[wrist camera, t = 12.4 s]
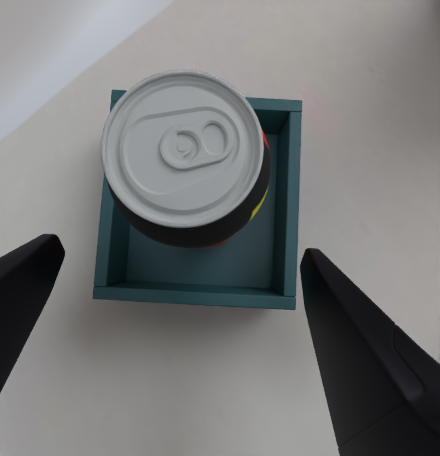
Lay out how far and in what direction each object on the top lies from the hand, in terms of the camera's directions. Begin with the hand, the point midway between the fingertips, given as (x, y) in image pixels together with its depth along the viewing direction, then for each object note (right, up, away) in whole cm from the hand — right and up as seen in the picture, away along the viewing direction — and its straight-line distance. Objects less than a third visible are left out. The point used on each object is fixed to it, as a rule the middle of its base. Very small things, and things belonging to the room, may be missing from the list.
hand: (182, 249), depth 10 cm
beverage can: (0, +2, +11) cm, 11 cm away
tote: (0, +3, +11) cm, 11 cm away
